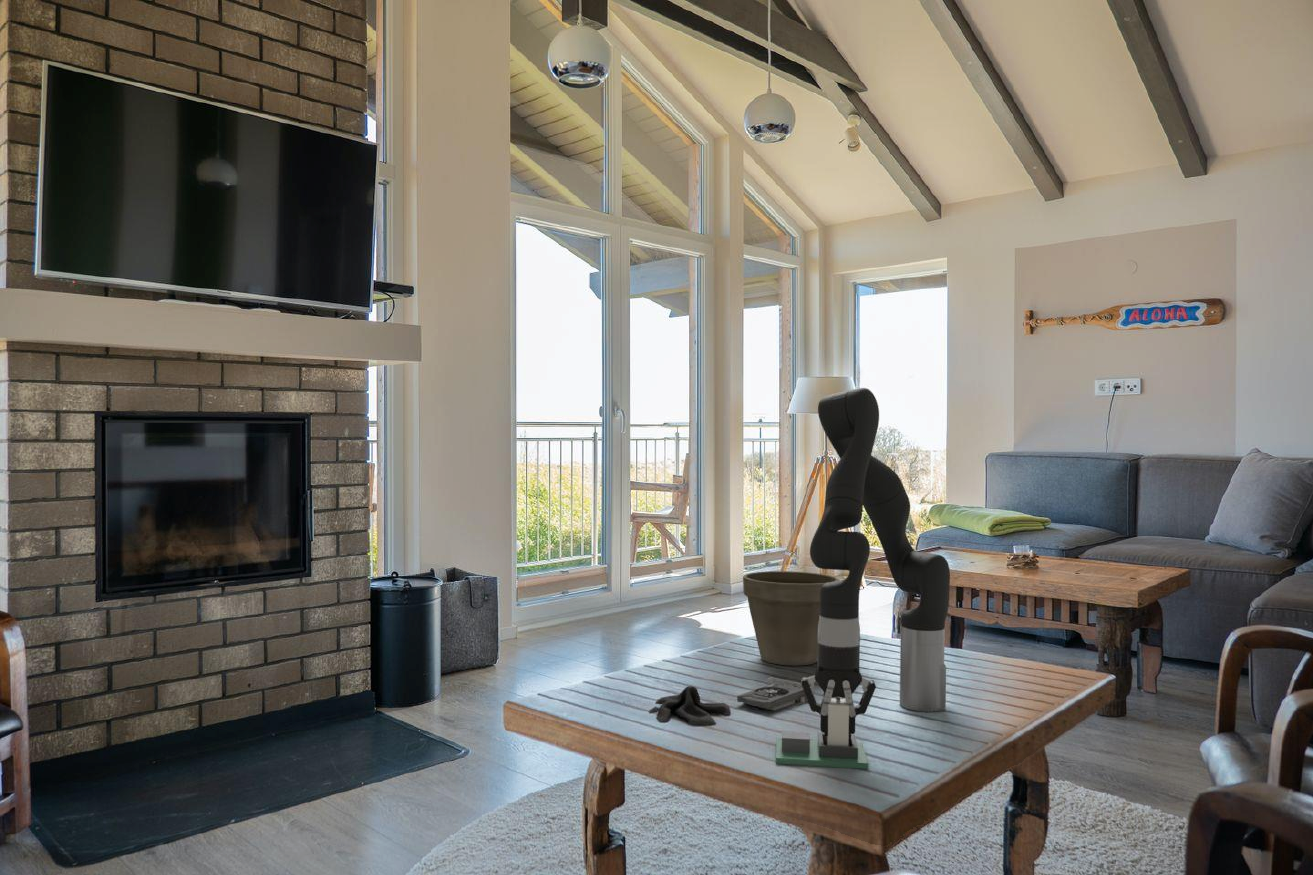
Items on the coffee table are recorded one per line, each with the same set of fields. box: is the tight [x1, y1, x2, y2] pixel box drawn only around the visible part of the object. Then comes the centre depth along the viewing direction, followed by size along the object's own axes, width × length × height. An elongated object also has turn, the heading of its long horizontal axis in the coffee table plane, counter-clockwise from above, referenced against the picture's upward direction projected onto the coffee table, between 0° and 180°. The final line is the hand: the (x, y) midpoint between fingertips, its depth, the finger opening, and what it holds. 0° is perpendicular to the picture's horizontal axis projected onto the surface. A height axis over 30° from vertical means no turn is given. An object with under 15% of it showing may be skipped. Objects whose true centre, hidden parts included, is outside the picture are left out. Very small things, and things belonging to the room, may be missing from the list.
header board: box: [775, 730, 869, 770], centre depth 174 cm, size 16×11×4 cm
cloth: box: [648, 685, 732, 726], centre depth 199 cm, size 22×19×6 cm
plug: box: [827, 697, 849, 746], centre depth 173 cm, size 4×4×9 cm
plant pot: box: [742, 570, 841, 667], centre depth 247 cm, size 25×25×22 cm
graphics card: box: [736, 676, 814, 711], centre depth 209 cm, size 17×4×12 cm
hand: (837, 734), depth 173 cm, fingers closed on plug, 3 cm apart
